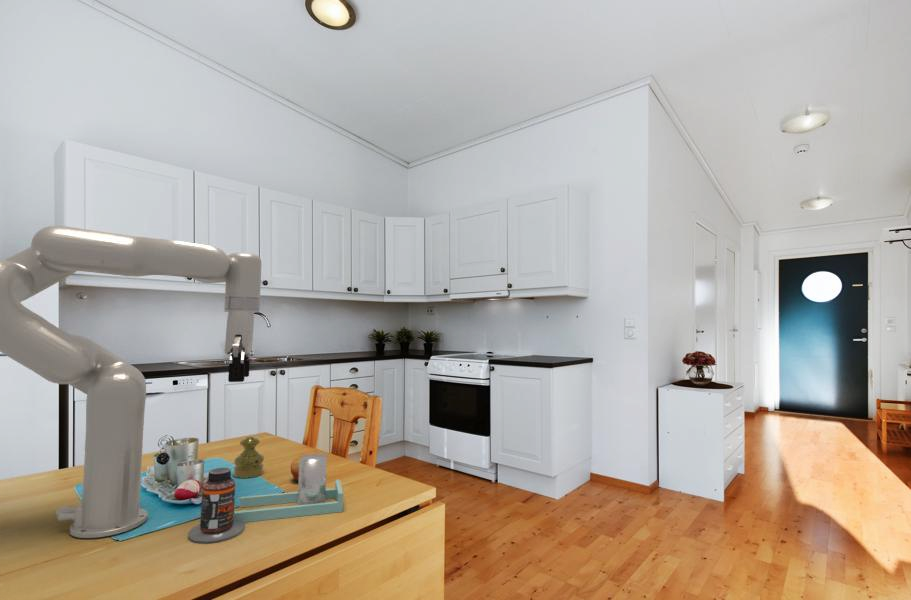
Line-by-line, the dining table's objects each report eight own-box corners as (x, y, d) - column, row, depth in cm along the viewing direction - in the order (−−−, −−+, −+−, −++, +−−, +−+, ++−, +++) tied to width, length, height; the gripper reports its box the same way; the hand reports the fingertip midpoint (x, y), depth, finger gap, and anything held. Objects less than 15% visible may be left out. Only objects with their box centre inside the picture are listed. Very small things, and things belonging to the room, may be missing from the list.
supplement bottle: (219, 536, 88) (221, 476, 89) (192, 533, 89) (195, 473, 90) (240, 523, 94) (242, 467, 94) (214, 520, 95) (217, 464, 96)
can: (297, 513, 101) (299, 462, 101) (297, 503, 106) (299, 454, 107) (325, 510, 103) (327, 460, 103) (324, 500, 108) (326, 453, 109)
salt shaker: (227, 477, 123) (229, 439, 124) (245, 469, 130) (247, 433, 131) (251, 479, 122) (253, 441, 122) (268, 471, 129) (270, 435, 129)
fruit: (333, 471, 125) (322, 449, 122) (313, 494, 119) (301, 471, 116) (313, 466, 129) (302, 444, 126) (293, 488, 124) (280, 465, 120)
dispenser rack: (233, 523, 95) (234, 503, 95) (239, 505, 104) (240, 487, 104) (342, 511, 102) (343, 493, 102) (339, 496, 111) (339, 479, 111)
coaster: (182, 546, 85) (182, 543, 85) (194, 524, 94) (194, 521, 94) (241, 539, 88) (241, 536, 88) (247, 518, 98) (247, 515, 98)
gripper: (230, 306, 115) (227, 375, 114) (218, 304, 99) (214, 384, 98) (262, 307, 118) (259, 374, 117) (256, 305, 101) (252, 383, 100)
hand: (239, 379), depth 107 cm, fingers open, 9 cm apart
